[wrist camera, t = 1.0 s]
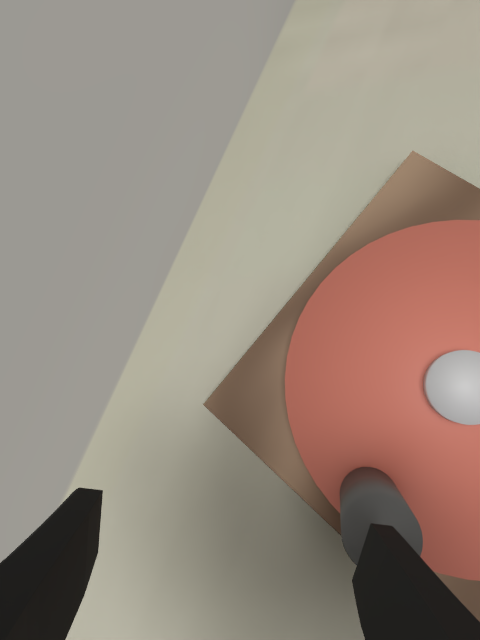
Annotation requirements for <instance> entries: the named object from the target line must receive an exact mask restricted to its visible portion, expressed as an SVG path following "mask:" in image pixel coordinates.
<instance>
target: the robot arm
mask: <svg viewBox="0 0 480 640" xmlns="http://www.w3.org/2000/svg"><path fill="white" fill-rule="evenodd" d="M102 493H103V490H94V489H86V488H78V489H76V490H75V491H74V492H73V493H72V494H71V495H70V496H69V497H68V498H67V499H66V500H65V501H64V502H63V503H62V504H61V505H60V506H59V508H58V509H57V510H56V511H55V512H54V513H53V514H52V515H51V516H50V517H49V518H48V519H47V520H46V521H45V522H44V523H43V524H42V525H41V526H40V527H39V528H38V529H37V530H36V531H34V532H33V533H32V534H31V535H30V536H29V537H28V538H27V539H26V540H25V541H24V542H23V543H22V544H21V545H20V546H19V547H17V548H16V549H15V550H14V551H13V552H12V553H11V554H10V555H9V556H8V557H7V558H6V559H5V560H3V561H2V562H1V563H0V640H65V639H66V637H67V634H68V632H69V630H70V627H71V625H72V623H73V620H74V618H75V616H76V613H77V611H78V609H79V606H80V604H81V601H82V599H83V597H84V594H85V591H86V588H87V585H88V582H89V579H90V576H91V573H92V569H93V566H94V563H95V560H96V557H97V554H98V546H99V532H100V519H101V506H102ZM352 582H353V588H354V593H355V599H356V604H357V609H358V614H359V618H360V623H361V627H362V630H363V634H364V637H365V640H480V622H479V621H478V620H477V618H476V617H475V616H474V615H473V614H472V613H471V612H470V611H469V610H468V609H467V608H466V607H465V606H464V605H463V604H462V603H461V602H460V600H459V599H458V598H457V597H456V596H455V595H454V594H453V593H452V592H451V591H450V590H449V588H448V587H447V586H446V585H445V584H444V583H443V582H442V581H441V580H440V578H439V577H438V576H437V575H436V574H435V573H434V572H433V571H432V569H431V568H430V567H429V566H428V565H427V564H426V563H425V562H424V560H423V559H422V558H421V557H420V556H419V555H418V554H417V553H416V551H415V550H414V549H413V548H412V547H411V546H410V545H409V543H408V542H407V541H406V540H405V539H404V538H403V537H402V536H401V535H400V533H399V532H398V531H397V530H396V529H395V528H394V527H393V526H390V525H382V524H374V523H370V527H369V530H368V533H367V536H366V539H365V542H364V545H363V548H362V551H361V555H360V558H359V561H358V564H357V567H356V570H355V573H354V576H353V579H352Z"/></svg>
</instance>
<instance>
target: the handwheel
mask: <svg viewBox="0 0 480 640" xmlns="http://www.w3.org/2000/svg"><path fill="white" fill-rule="evenodd" d="M285 400H286V406H287V413H288V419H289V423H290V427H291V430H292V434H293V437H294V441H295V444H296V446H297V448H298V451H299V453H300V455H301V458H302V460H303V462H304V464H305V466H306V468H307V470H308V471H309V473H310V475H311V476H312V478H313V480H314V482H315V483H316V485H317V486H318V487H319V489H320V490H321V491H322V493H323V494H324V495H325V497H326V498H327V499H328V501H329V502H330V503H331V505H332V506H333V507H334V508H335V509H336V510H337V511H338V512H339V513H340V518H341V537H342V542H343V545H344V548H345V550H346V552H347V554H348V556H349V557H350V558H351V560H352V561H353V562H354V563H355V564H356V565H357V564H358V561H359V558H360V555H361V551H362V548H363V545H364V542H365V539H366V536H367V533H368V530H369V527H370V523H374V524H382V525H390V526H393V527H394V528H395V529H396V530H397V531H398V532H399V533H400V535H401V536H402V537H403V538H404V539H405V540H406V541H407V542H408V543H409V545H410V546H411V547H412V548H413V549H414V550H415V551H416V553H417V554H418V555H419V556H420V557H421V558H422V559H423V560H424V562H425V563H426V564H427V565H428V566H429V567H430V568H431V569H432V571H434V572H437V573H440V574H444V575H448V576H453V577H458V578H462V579H467V580H476V581H480V220H449V221H438V222H430V223H426V224H421V225H416V226H412V227H408V228H405V229H402V230H399V231H396V232H393V233H390V234H388V235H386V236H384V237H381V238H379V239H377V240H375V241H373V242H371V243H369V244H367V245H366V246H364V247H363V248H361V249H360V250H358V251H356V252H355V253H353V254H352V255H350V256H349V257H348V258H347V259H345V260H344V261H343V262H342V263H341V264H339V265H338V266H337V267H336V268H335V269H334V270H333V271H332V272H331V273H330V274H329V275H328V276H327V277H326V278H325V279H324V280H323V281H322V282H321V284H320V285H319V286H318V288H317V289H316V291H315V292H314V293H313V295H312V296H311V297H310V299H309V300H308V302H307V304H306V306H305V308H304V310H303V311H302V313H301V315H300V317H299V319H298V322H297V324H296V327H295V330H294V332H293V335H292V338H291V342H290V346H289V350H288V355H287V361H286V371H285Z"/></svg>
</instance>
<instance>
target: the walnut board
mask: <svg viewBox="0 0 480 640" xmlns="http://www.w3.org/2000/svg"><path fill="white" fill-rule="evenodd" d="M449 220H480V189H479V188H477V187H475V186H474V185H472V184H470V183H468V182H467V181H465V180H463V179H461V178H460V177H458V176H456V175H454V174H453V173H451V172H449V171H447V170H446V169H444V168H442V167H440V166H439V165H437V164H435V163H433V162H432V161H430V160H428V159H426V158H425V157H423V156H421V155H419V154H418V153H416V152H414V151H412V152H411V153H410V155H409V156H408V157H407V158H406V159H405V161H404V162H403V163H402V164H401V166H400V167H399V168H398V169H397V170H396V172H395V173H394V174H393V175H392V176H391V178H390V179H389V180H388V181H387V182H386V184H385V185H384V186H383V187H382V189H381V190H380V191H379V192H378V193H377V195H376V196H375V197H374V198H373V199H372V201H371V202H370V203H369V204H368V206H367V207H366V208H365V209H364V210H363V212H362V213H361V214H360V215H359V216H358V218H357V219H356V220H355V221H354V222H353V224H352V225H351V226H350V227H349V229H348V230H347V231H346V232H345V233H344V235H343V236H342V237H341V238H340V239H339V241H338V242H337V243H336V244H335V245H334V247H333V248H332V249H331V250H330V252H329V253H328V254H327V255H326V256H325V258H324V259H323V260H322V261H321V262H320V264H319V265H318V266H317V267H316V269H315V270H314V271H313V272H312V273H311V275H310V276H309V277H308V278H307V279H306V281H305V282H304V283H303V284H302V285H301V287H300V288H299V289H298V290H297V292H296V293H295V294H294V295H293V296H292V298H291V299H290V300H289V301H288V302H287V304H286V305H285V306H284V307H283V309H282V310H281V311H280V312H279V313H278V315H277V316H276V317H275V318H274V319H273V321H272V322H271V323H270V324H269V325H268V327H267V328H266V329H265V330H264V332H263V333H262V334H261V335H260V336H259V338H258V339H257V340H256V341H255V342H254V344H253V345H252V346H251V347H250V348H249V350H248V351H247V352H246V353H245V355H244V356H243V357H242V358H241V359H240V361H239V362H238V363H237V364H236V365H235V367H234V368H233V369H232V370H231V372H230V373H229V374H228V375H227V376H226V378H225V379H224V380H223V381H222V382H221V384H220V385H219V386H218V387H217V388H216V390H215V391H214V392H213V393H212V395H211V396H210V397H209V398H208V399H207V401H206V402H205V403H204V404H203V405H204V406H205V407H206V408H207V409H208V410H209V411H211V412H212V413H213V414H214V415H215V416H216V417H217V418H218V419H219V420H220V421H221V422H222V423H223V424H224V425H225V426H226V427H227V428H228V429H229V430H231V431H232V432H233V433H234V434H235V435H236V436H237V437H238V438H239V439H240V440H241V441H242V442H243V443H244V444H245V445H246V446H247V447H248V448H249V449H251V450H252V451H253V452H254V453H255V454H256V455H257V456H258V457H259V458H260V459H261V460H262V461H263V462H264V463H265V464H266V465H267V466H268V467H269V468H271V469H272V470H273V471H274V472H275V473H276V474H277V475H278V476H279V477H280V478H281V479H282V480H283V481H284V482H285V483H286V484H287V485H288V486H289V487H291V488H292V489H293V490H294V491H295V492H296V493H297V494H298V495H299V496H300V497H301V498H302V499H303V500H304V501H305V502H306V503H307V504H308V505H310V506H311V507H312V508H313V509H314V510H315V511H316V512H317V513H318V514H319V515H320V516H321V517H322V518H323V519H324V520H325V521H326V522H327V523H328V524H330V525H331V526H332V527H333V528H334V529H335V530H336V531H337V532H338V533H339V534H340V535H341V518H340V513H339V512H338V511H337V510H336V509H335V508H334V507H333V506H332V505H331V503H330V502H329V501H328V499H327V498H326V497H325V495H324V494H323V493H322V491H321V490H320V489H319V487H318V486H317V485H316V483H315V482H314V480H313V478H312V476H311V475H310V473H309V471H308V470H307V468H306V466H305V464H304V462H303V460H302V458H301V455H300V453H299V451H298V448H297V446H296V444H295V441H294V437H293V434H292V430H291V427H290V423H289V419H288V413H287V406H286V400H285V371H286V361H287V355H288V350H289V346H290V342H291V338H292V335H293V332H294V330H295V327H296V324H297V322H298V319H299V317H300V315H301V313H302V311H303V310H304V308H305V306H306V304H307V302H308V300H309V299H310V297H311V296H312V295H313V293H314V292H315V291H316V289H317V288H318V286H319V285H320V284H321V282H322V281H323V280H324V279H325V278H326V277H327V276H328V275H329V274H330V273H331V272H332V271H333V270H334V269H335V268H336V267H337V266H338V265H339V264H341V263H342V262H343V261H344V260H345V259H347V258H348V257H349V256H350V255H352V254H353V253H355V252H356V251H358V250H360V249H361V248H363V247H364V246H366V245H367V244H369V243H371V242H373V241H375V240H377V239H379V238H381V237H384V236H386V235H388V234H390V233H393V232H396V231H399V230H402V229H405V228H408V227H412V226H416V225H421V224H426V223H430V222H438V221H449ZM433 572H434V571H433ZM434 573H435V574H436V575H437V576H438V577H439V578H440V580H441V581H442V582H443V583H444V584H445V585H446V586H447V587H448V588H449V590H450V591H451V592H452V593H453V594H454V595H455V596H456V597H457V598H458V599H459V600H460V602H461V603H462V604H463V605H464V606H465V607H466V608H467V609H468V610H469V611H470V612H471V613H472V614H473V615H474V616H475V617H476V618H477V620H478V621H479V622H480V581H476V580H467V579H462V578H458V577H453V576H448V575H444V574H440V573H437V572H434Z"/></svg>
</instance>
